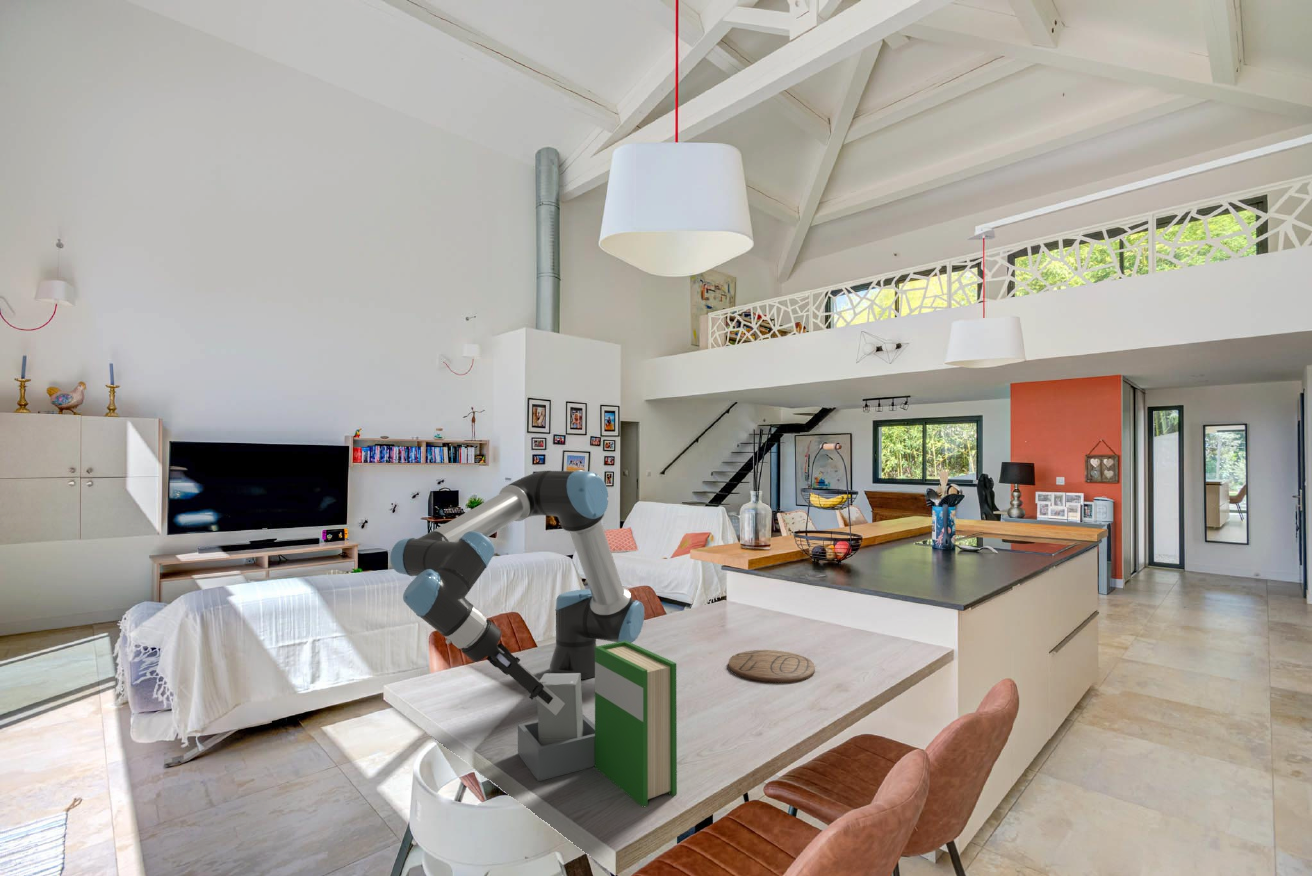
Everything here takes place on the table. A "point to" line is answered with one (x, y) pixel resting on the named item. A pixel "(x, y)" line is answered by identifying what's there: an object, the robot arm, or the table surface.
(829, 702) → the table surface
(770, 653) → the trivet
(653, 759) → the hardback book
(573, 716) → the skincare box
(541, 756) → the bin
